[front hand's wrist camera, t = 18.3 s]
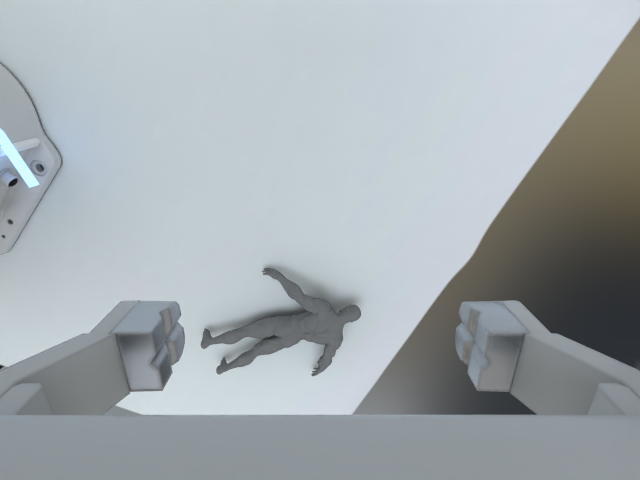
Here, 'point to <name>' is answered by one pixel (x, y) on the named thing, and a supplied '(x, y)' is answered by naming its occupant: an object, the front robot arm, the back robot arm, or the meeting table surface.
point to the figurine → (289, 328)
